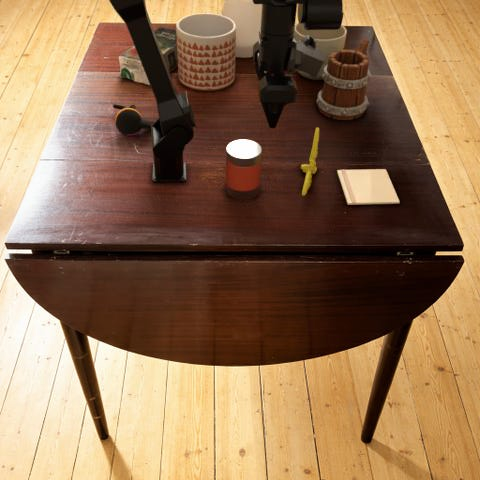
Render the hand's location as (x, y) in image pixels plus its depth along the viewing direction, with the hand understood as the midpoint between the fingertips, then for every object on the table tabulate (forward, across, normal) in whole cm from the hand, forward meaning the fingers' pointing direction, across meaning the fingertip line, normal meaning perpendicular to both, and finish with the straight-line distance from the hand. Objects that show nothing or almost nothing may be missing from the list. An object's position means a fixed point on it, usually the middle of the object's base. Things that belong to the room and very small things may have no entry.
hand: (270, 114), depth 114 cm
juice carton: (+12, +45, +24) cm, 52 cm away
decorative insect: (+12, -6, -7) cm, 15 cm away
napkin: (+12, -7, -19) cm, 23 cm away
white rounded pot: (+12, +55, +2) cm, 56 cm away
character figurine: (+12, +16, +28) cm, 34 cm away
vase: (+12, +39, +11) cm, 42 cm away
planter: (+12, +41, -16) cm, 46 cm away
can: (+12, -7, +5) cm, 15 cm away
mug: (+12, +25, -20) cm, 34 cm away
